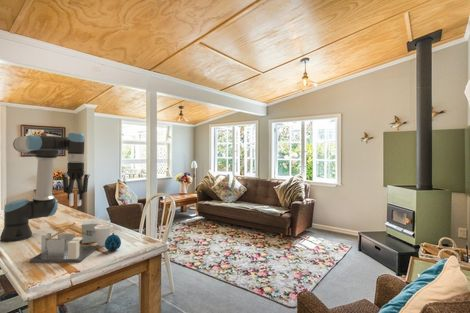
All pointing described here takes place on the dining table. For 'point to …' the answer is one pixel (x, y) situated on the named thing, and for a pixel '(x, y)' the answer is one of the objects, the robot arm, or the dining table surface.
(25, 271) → the dining table surface
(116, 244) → the ornament
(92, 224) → the ink box
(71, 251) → the block
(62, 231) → the strap
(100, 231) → the cup
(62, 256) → the base
